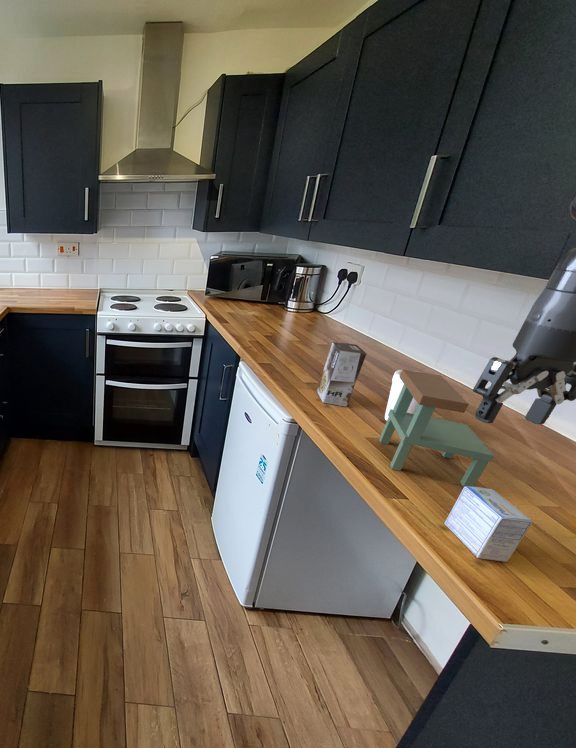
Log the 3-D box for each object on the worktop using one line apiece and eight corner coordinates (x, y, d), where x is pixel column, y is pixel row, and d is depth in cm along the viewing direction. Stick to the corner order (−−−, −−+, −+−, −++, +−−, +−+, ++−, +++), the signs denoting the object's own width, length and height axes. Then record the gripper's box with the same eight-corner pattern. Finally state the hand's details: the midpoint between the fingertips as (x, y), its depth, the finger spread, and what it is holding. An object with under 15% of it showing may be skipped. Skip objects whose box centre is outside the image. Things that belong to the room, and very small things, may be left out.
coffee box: (347, 407, 113) (367, 353, 107) (322, 403, 115) (340, 350, 108) (339, 394, 121) (357, 344, 114) (315, 390, 123) (332, 340, 116)
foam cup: (423, 434, 100) (445, 387, 95) (378, 423, 105) (397, 378, 100) (418, 419, 108) (438, 375, 102) (376, 410, 112) (394, 367, 107)
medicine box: (507, 563, 63) (536, 521, 60) (476, 559, 64) (502, 517, 61) (470, 527, 71) (494, 488, 67) (442, 523, 71) (464, 484, 68)
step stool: (449, 453, 93) (485, 382, 86) (476, 492, 80) (522, 413, 72) (374, 436, 99) (402, 369, 91) (388, 471, 86) (422, 395, 78)
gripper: (546, 329, 54) (489, 433, 60) (645, 332, 54) (578, 434, 61) (490, 315, 60) (444, 409, 67) (579, 317, 61) (525, 411, 68)
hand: (508, 421), depth 64 cm, fingers open, 8 cm apart
